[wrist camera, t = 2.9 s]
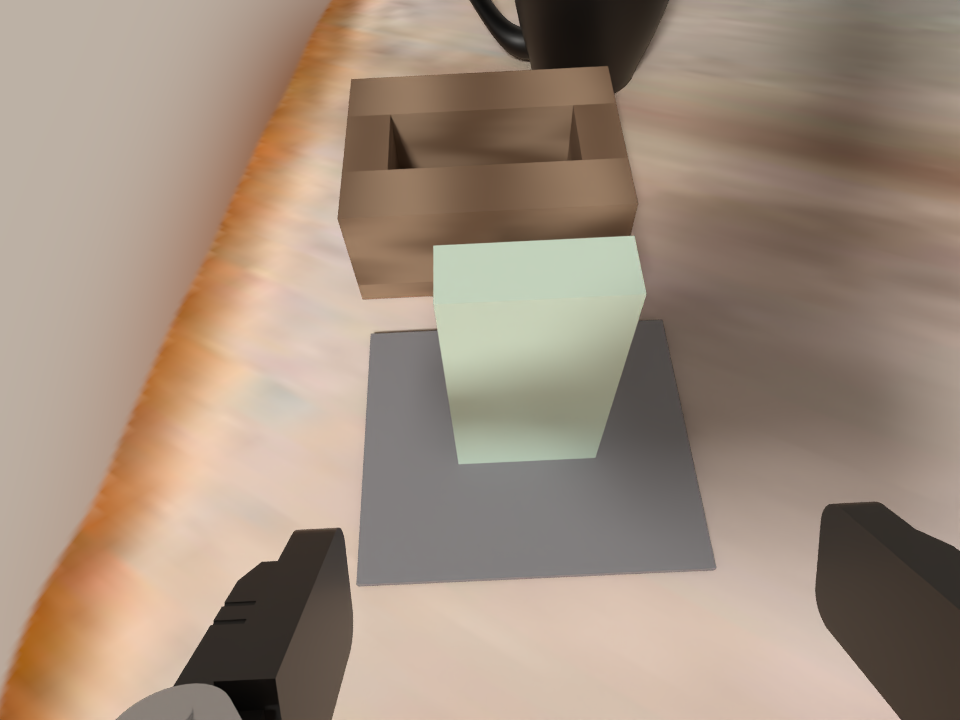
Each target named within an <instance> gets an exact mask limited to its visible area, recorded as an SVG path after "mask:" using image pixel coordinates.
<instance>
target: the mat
mask: <svg viewBox="0 0 960 720" xmlns="http://www.w3.org/2000/svg"><path fill="white" fill-rule="evenodd" d="M715 569H716V565H715V560H714V555H713V551H712V546H711V542H710V537H709V532H708V528H707V523H706V519H705V514H704V509H703V505H702V500H701V496H700V491H699V486H698V482H697V477H696V473H695V468H694V463H693V459H692V454H691V450H690V445H689V440H688V436H687V431H686V427H685V422H684V417H683V413H682V408H681V404H680V399H679V394H678V390H677V385H676V381H675V376H674V371H673V367H672V362H671V358H670V353H669V348H668V344H667V339H666V335H665V330H664V325H663V321H662V320H646V321H638V323H637V326H636V329H635V333H634V336H633V339H632V342H631V345H630V349H629V352H628V355H627V358H626V361H625V365H624V368H623V371H622V374H621V377H620V381H619V384H618V387H617V390H616V393H615V397H614V400H613V403H612V406H611V409H610V413H609V416H608V419H607V422H606V425H605V429H604V432H603V435H602V438H601V441H600V445H599V448H598V451H597V454H596V457H595V458H582V459H561V460H540V461H518V462H497V463H475V464H458V457H457V451H456V445H455V438H454V432H453V425H452V419H451V413H450V406H449V400H448V394H447V387H446V381H445V375H444V368H443V362H442V356H441V349H440V343H439V337H438V331H419V332H398V333H377V334H371V340H370V358H369V375H368V393H367V410H366V428H365V445H364V463H363V480H362V497H361V515H360V532H359V550H358V567H357V586H378V585H400V584H422V583H444V582H466V581H488V580H510V579H532V578H554V577H576V576H598V575H620V574H642V573H664V572H686V571H708V570H715Z"/></svg>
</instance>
